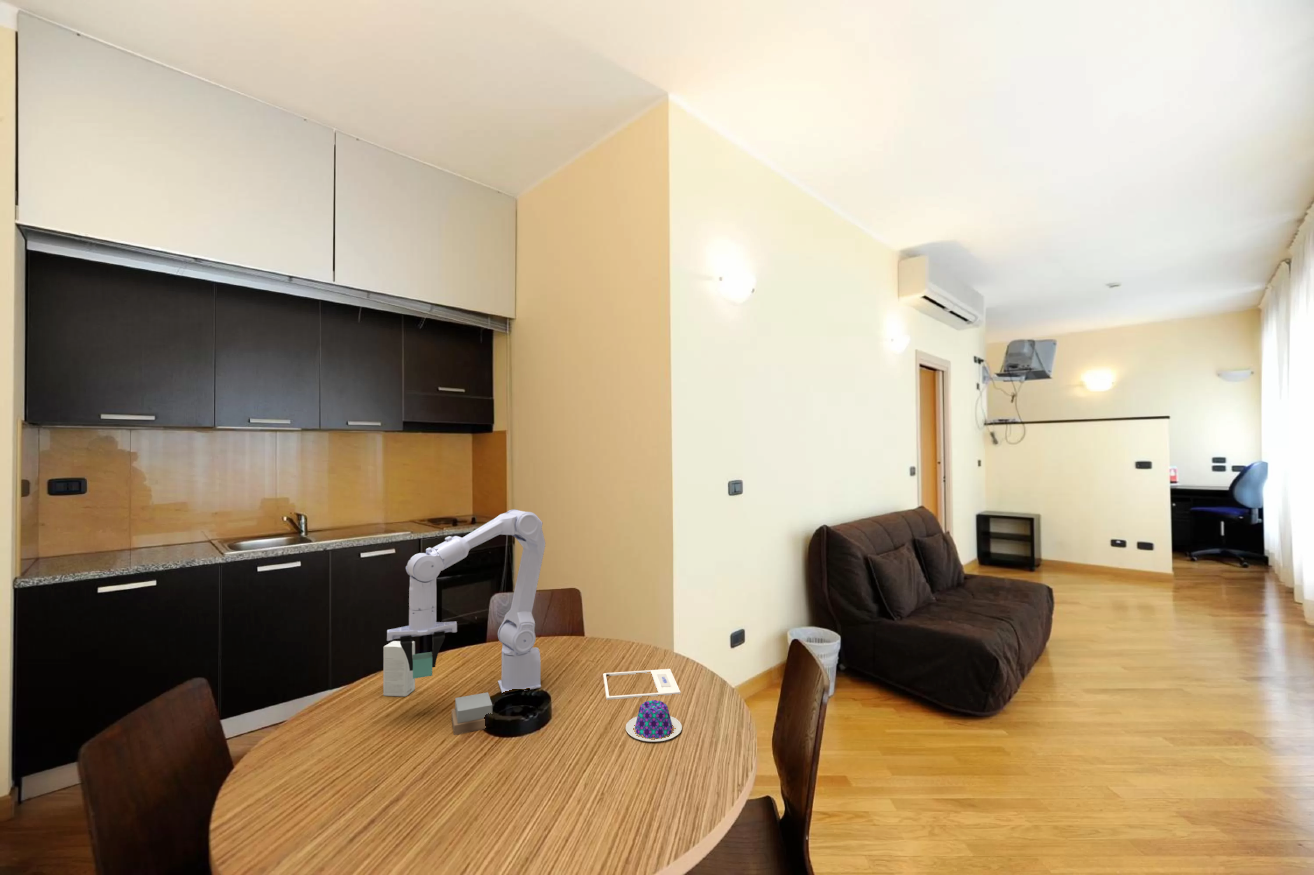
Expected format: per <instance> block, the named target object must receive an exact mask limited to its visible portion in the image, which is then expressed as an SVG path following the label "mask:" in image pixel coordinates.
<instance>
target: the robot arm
mask: <svg viewBox="0 0 1314 875" xmlns="http://www.w3.org/2000/svg"><path fill="white" fill-rule="evenodd" d="M499 535H501V536H503V535H505V536H513V537H514V538H515V539H516V541H518V543H519V544H520V545H521V547H522V552H521V557H520V562H519V568H518V572H517V577H516V581H515V587H514V592H513V596H512V601H511V605H510V609H509V611H507V613H505V614H504V618H503V620H502V623H501V624H500V626H499V628H498V630H497V637H498V638H497V639H498V640H499V642H500V643H501V646H502V648H501V679H499V680H497V683H498V686H499V689H500V692H501V694H502V693H503V692H505V691H509V690H512V689H526V688H530V690H534V689H539V688H541V687H542V685H541V673H542V672H541V668H542V666H541V665H542V664H541V654H540V653H541V652H540V649H539V647H537V646H536V647H534V646H535V643H536V639H537V638H536V633H535V632H536V631H535V628H536V623H535V622H536V621H535V619H534V616H533V608H534V602H535V598H536V593H537V588H538V582H539V578H540V573H541V567H542V564H543V559H544V553H545V548H546V540H545V535H544V532H543V522H542V520H541V519H540V518H539V517H538V515H537V514H536V513H534V512H532V511H524V510H519V509H510V510H507V511H506V512H504V513H500V514H499V515H498V516H496V517H495V518H493V519H491V520H489V521H488V522H486V523H484V524H483V525H481V526H480V527H477V528H476V529H475V530H473V531H471V532H470V533H468V534H466V535H465V536H463V537H461V536H458V535H454V536H452V535H451V536H450V535H449V536H446V537H445V538H444V541H443V542H441V543H439V544H437V545H435V546H433V547H428V548H426V549H425V552H419V553H416V554H414V555H412V556H411V557H410V559H409V560H408V561H407V564H406V566H405V571H406V573H407V575H408V576H409V589H408V591H409V592H408V593H409V594H408V596H409V598H408V603H409V604H408V606H409V607H408V625H405V626H401V627H400V626H399V627H396V628H391V629H387V630H386V641H387V642H389V641H390V642H391V641H394V640H396V639H397V640H398V639H400V640H399V641H400V644H401V647H402V648H403V650H404V652H405V654H406V657H407V660H408V663H409V669H410V671H412V670H413V656H412V641H413V638H414V637H422V636H427V635H432V651H431V652H432V668H436V665H437V664H436V663H437V658H438V655H439V652H440V650H441V647H442V645H443V644H444V641H445V639H446V635H445V634H446V633H457V632H458V623H457V622H458V621H441V622H440V621H437V578H438V576H439V575H440V573H441V571H442V572H443V571H444V570H445V569H447V568H449V567H451V566H453V565H454V564H457V563H459V562H460V561H462V560H463V559H465V558H467V556H468V555H469V551H470V550H471V549H473V548H475V547H477V546H479V545H482V544H483V543H485V542H488V541H489V540H491V539H493V538H495V537H497V536H499Z"/></svg>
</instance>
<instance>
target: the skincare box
mask: <svg viewBox="0 0 1314 875" xmlns="http://www.w3.org/2000/svg"><path fill="white" fill-rule="evenodd" d="M413 654H416V641H414V640H412V656H413ZM382 678H383V679H382V680H383V686H382V688H383V690H382V691H383V696H384V697H407V696H408V695H410V694H411V693H413V691H415V690H416V685H415V684H416V678H414V679H413V670H412V671H410V669H409V663H408V660H407V657H406V654H405V652H404V650H403V648H402V647H401V644H400V640H391V641H390V642H388V644H386V645H384V646H383V677H382Z"/></svg>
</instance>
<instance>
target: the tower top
mask: <svg viewBox="0 0 1314 875" xmlns="http://www.w3.org/2000/svg"><path fill="white" fill-rule="evenodd" d="M454 702H455V703H454V709H455V711H456V716H457V722H458V723H463V722H468V721H473V720H478V719H483V718H484V717H485V715H486V714H488V713H489V714H490V713H491V714H493V702H492V700H491V697H490V694H489V692H488V691H487V692H483V693H482V692H481V693H476V694H471V695H470V694H469V695H466V696H460V697H455V701H454Z"/></svg>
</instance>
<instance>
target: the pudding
mask: <svg viewBox="0 0 1314 875" xmlns="http://www.w3.org/2000/svg"><path fill="white" fill-rule="evenodd" d="M634 725H635V726H634ZM672 725H673V726H674V728H676V729H674V731H673V729H672V728H673V726H672ZM633 728H634V730H633ZM671 729H672V730H671ZM682 729H683V725H682V723H681V722H680V720H678V718H676V717H674V716H671V715H670V710H669V707H668V705H667V704H666V703H665V702H664V701H663V700H657V699H652V700H646V701H644V702H643V703H642V704H640V706H639V709H638V712H637V715H636V716H634V717H632V718H631V719H629V720H628V721H627V722H626V724H625V731H626V732H627V733H628V735H629V736H631V737H632V738H634V739H636V740H640V741H643V742H663V741H664V742H665V741H669V740H670V739H673V738H675V737H676V736H678V735H679V734H680V733H681V732H682V731H683V730H682ZM634 731H635V732H634ZM671 732H674V733H672V734H671ZM635 733H637V734H635ZM638 734H639V735H638ZM636 735H638V736H640V737H638V736H636ZM642 735H643V736H644V737H645V738H646V739H645V738H644V737H643V736H642ZM665 735H666V736H665ZM669 735H670V736H669ZM667 736H669V737H667ZM642 737H643V738H642ZM652 737H655V738H654V739H655V740H651V739H653V738H652ZM661 737H663V738H662V739H661ZM664 737H666V738H664ZM649 738H651V739H649ZM656 738H658V739H656Z"/></svg>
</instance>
